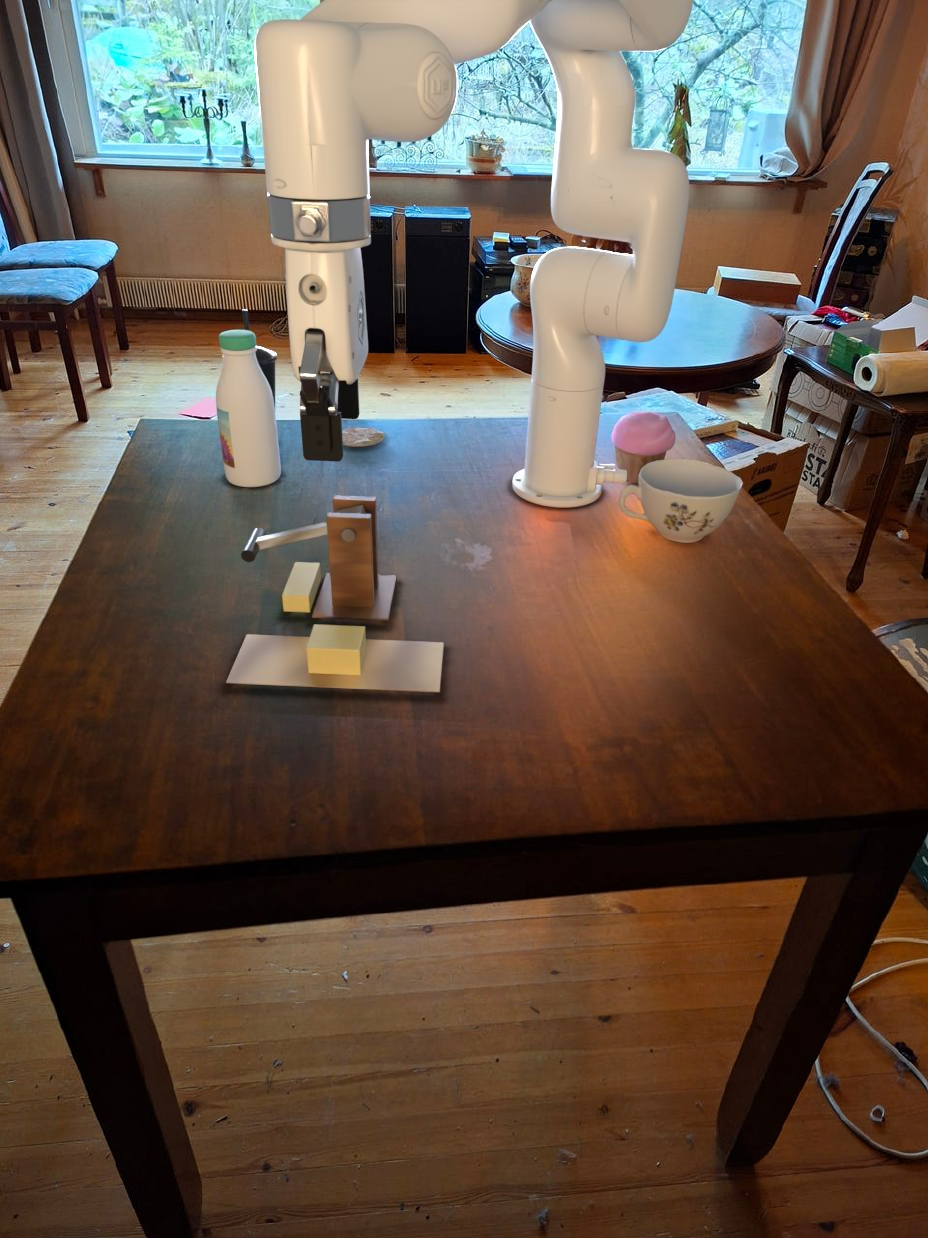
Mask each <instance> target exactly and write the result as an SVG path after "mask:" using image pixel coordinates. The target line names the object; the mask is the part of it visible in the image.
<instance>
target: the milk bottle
mask: <svg viewBox="0 0 928 1238" xmlns="http://www.w3.org/2000/svg"><path fill="white" fill-rule="evenodd" d="M218 343H219V346H220V352H221V353H222V367H221V371H220V375H219V377H218V379H217V383H216V389H215V407H216V415H217V416H216V417H217V424H218V433H219V439H220V446H221V447H220V448H221V455H222V461H223V468H224V474H225V478H226V479H227V481H228V482H229V484H232V485H234V486H237V487H244V488H257V487H264V486H268V485H270V484H273V483H275V482H276V481H277V480H279V479H280V477H281V474H282V465H281V455H280V446H279V444H280V443H279V434H278V427H277V426H278V425H277V417H276V415H277V414H276V406H275V407H274V400H273V395H272V391H271V388H270V385H269V383H268V381H267V379H266V377H265V375H264V374H263V372H262V370H261V368H260V366H259V364H258V361H257V358H256V354H255V351H256V350H257V348H256V346H257V338H256V334H255V332H253V331H252V330H250V331H247V330H245V329H230V330H226V331H222V332H221V333H219V335H218Z"/></svg>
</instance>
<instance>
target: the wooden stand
mask: <svg viewBox="0 0 928 1238" xmlns="http://www.w3.org/2000/svg"><path fill="white" fill-rule="evenodd" d="M332 497H333V498H332V510H333V511H332V512H327V513H326V517H325V518H326V522H327V535H326V536H327V547H328V562H329V572H326V573H325V575H324V579H323V581H322V585H321V588H320V591H319V593H318V597H317V599H316V603H315V606H314V608H313V612H312V615H311V618H312V619H329V620H331V619H333V620H355V621H356V620H358V621H380V622H381V621H382V622H389V619H390V615H391V609H392V605H393V598H394V594H395V589H396V588H395V587H396V584H397V579H398V578H397V574H379V548H378V546H379V544H378V542H379V541H378V515H377V513H378V512H377V510H378V509H377V497H376V496H361V495H359V496H358V495H339V494H338V495H336V494H334V495H333V496H332ZM359 505H363V506H364V509H365V512H366V514H352V513H337V511H338V510H342V509H346V508H351V507H355V506H359Z"/></svg>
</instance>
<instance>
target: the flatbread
mask: <svg viewBox="0 0 928 1238" xmlns="http://www.w3.org/2000/svg"><path fill="white" fill-rule="evenodd" d="M342 437H343V446H346V447H351V448H362V447H363V448H364V447H371V446H375V445H377V444H379V443H382V442H383V441H384V440H385V439H386V434H385V432H384V431H381V430H378V429H376V428H373V427H349V428H346V429H343V430H342Z"/></svg>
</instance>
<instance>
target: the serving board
mask: <svg viewBox="0 0 928 1238" xmlns="http://www.w3.org/2000/svg"><path fill="white" fill-rule="evenodd" d="M309 639H310V636H299V635H298V636H297V635H296V636H295V635H271V634H250V633H248V634H246V635H245V637H244V640H243V642H242V645H241V646H240V649H239V651H238V654H237V656H236V658H235V661H234V663H233V665H232V667H231V670H230V671H229V674H228V677H227V679H226V681H225V684H237V685H238V684H239V685H263V686H285V687H287V686H288V687H308V688H309V687H311V688H330V689H332V688H333V689H334V688H335V689H354V690H355V689H358V690H376V691H377V690H380V691H399V692H401V691H402V692H403V691H404V692H423V693H424V692H425V693H427V692H428V693H440V692H441V680H442V669H443V660H444V659H443V657H444V646H445V643H444V642H442V641H441V642H437V641H415V640H414V641H413V640H395V639H393V640H392V639H391V640H390V639H368V638H366V654H365V659H364V663H363V668H362V672H361V675H340V674H317V673H309V671H308V660H307V649H306V648H307V645H308V642H309Z"/></svg>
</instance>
